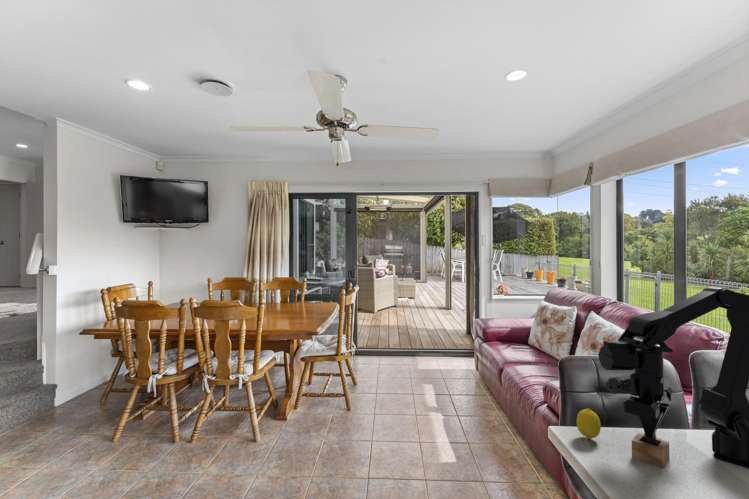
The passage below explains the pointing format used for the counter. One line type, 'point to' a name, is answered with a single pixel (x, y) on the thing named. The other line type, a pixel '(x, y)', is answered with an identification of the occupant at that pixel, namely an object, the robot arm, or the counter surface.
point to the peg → (651, 439)
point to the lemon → (588, 423)
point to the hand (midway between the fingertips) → (650, 435)
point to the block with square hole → (650, 450)
